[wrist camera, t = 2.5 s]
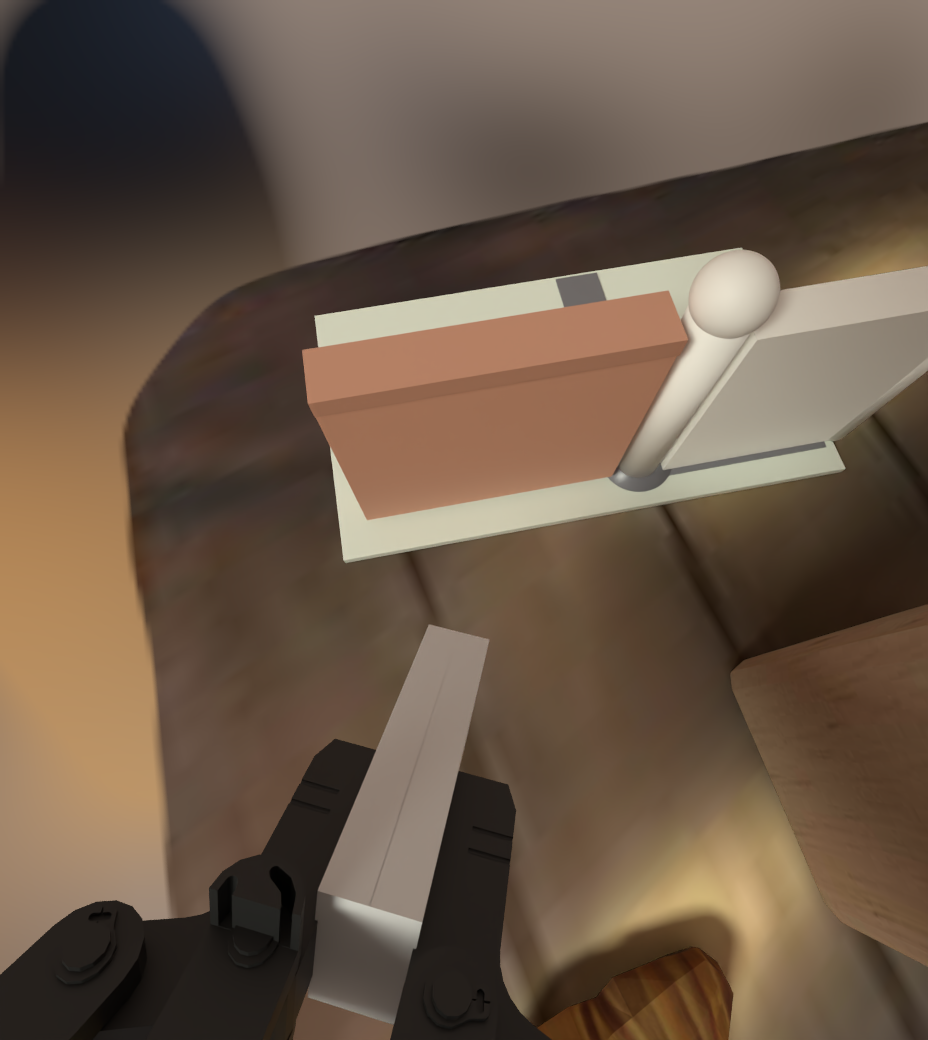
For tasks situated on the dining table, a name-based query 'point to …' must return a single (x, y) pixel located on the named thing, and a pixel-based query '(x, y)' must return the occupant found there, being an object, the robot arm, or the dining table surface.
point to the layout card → (563, 500)
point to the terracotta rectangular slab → (492, 402)
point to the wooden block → (853, 766)
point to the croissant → (654, 1004)
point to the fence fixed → (780, 362)
